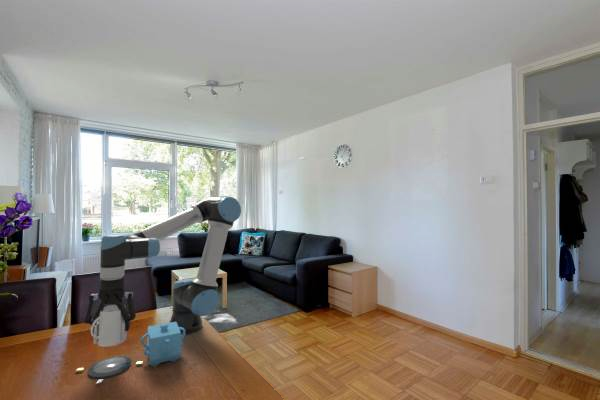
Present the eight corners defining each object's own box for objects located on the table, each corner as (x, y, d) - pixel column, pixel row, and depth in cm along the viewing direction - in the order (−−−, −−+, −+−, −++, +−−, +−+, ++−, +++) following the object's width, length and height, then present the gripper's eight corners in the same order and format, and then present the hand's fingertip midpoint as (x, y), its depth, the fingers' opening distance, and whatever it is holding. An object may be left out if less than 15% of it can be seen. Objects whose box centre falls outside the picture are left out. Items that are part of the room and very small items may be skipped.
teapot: (139, 356, 115) (140, 323, 115) (182, 346, 123) (183, 315, 123) (142, 380, 99) (142, 341, 99) (190, 368, 107) (191, 332, 107)
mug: (96, 353, 99) (97, 317, 99) (82, 347, 103) (83, 312, 103) (130, 339, 109) (131, 307, 109) (116, 334, 113) (117, 303, 113)
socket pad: (146, 355, 115) (146, 352, 115) (134, 380, 99) (134, 377, 99) (84, 362, 110) (85, 359, 110) (60, 390, 93) (60, 386, 93)
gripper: (146, 274, 113) (145, 333, 113) (83, 276, 108) (81, 339, 107) (141, 278, 106) (139, 342, 105) (73, 281, 100) (71, 348, 100)
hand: (110, 340), depth 106 cm, fingers closed on mug, 8 cm apart
